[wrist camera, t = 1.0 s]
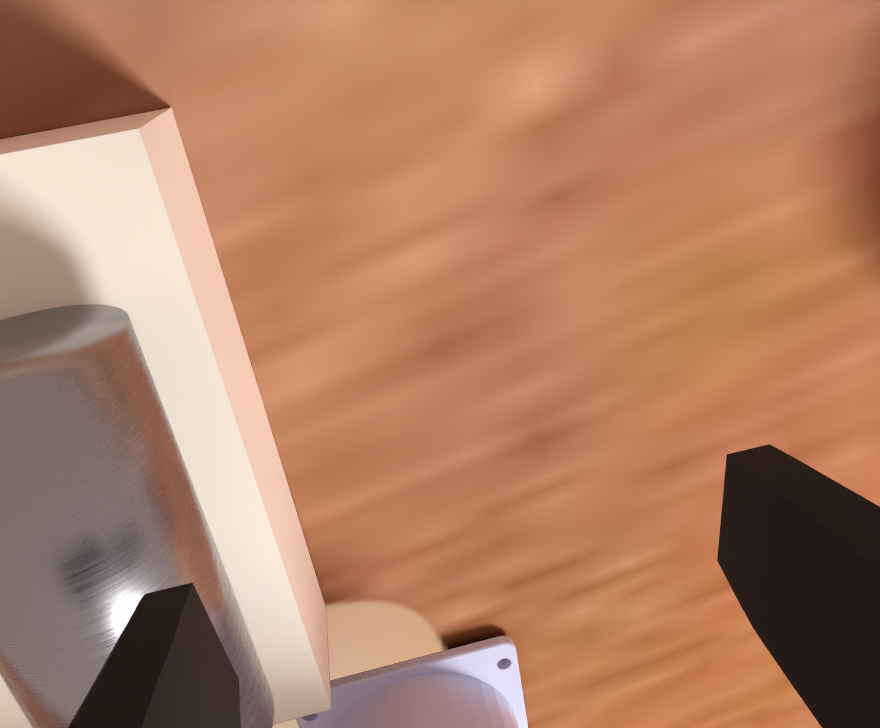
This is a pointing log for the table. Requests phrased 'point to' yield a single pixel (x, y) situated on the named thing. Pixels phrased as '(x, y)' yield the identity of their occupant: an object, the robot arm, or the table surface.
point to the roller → (95, 513)
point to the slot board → (170, 358)
